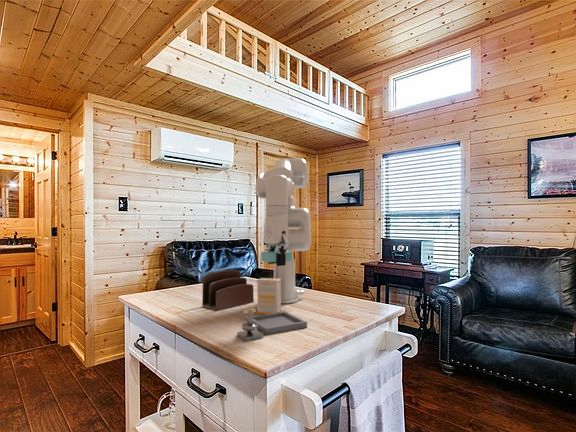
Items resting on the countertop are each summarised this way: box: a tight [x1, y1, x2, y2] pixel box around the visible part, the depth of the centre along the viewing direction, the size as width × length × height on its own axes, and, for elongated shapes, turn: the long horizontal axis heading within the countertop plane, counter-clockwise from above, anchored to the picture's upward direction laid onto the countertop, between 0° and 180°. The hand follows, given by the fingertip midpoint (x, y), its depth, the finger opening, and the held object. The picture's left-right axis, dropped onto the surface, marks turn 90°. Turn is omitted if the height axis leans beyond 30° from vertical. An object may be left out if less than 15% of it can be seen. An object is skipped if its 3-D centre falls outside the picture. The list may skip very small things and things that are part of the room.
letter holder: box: [201, 269, 255, 312], centre depth 140 cm, size 10×20×14 cm, turn 138°
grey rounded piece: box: [236, 308, 264, 342], centre depth 100 cm, size 6×6×8 cm
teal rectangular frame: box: [260, 251, 293, 263], centre depth 113 cm, size 10×6×3 cm, turn 120°
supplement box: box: [256, 277, 282, 315], centre depth 127 cm, size 8×5×13 cm, turn 71°
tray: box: [253, 311, 308, 336], centre depth 112 cm, size 15×15×2 cm
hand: (276, 264), depth 112 cm, fingers closed on teal rectangular frame, 5 cm apart
